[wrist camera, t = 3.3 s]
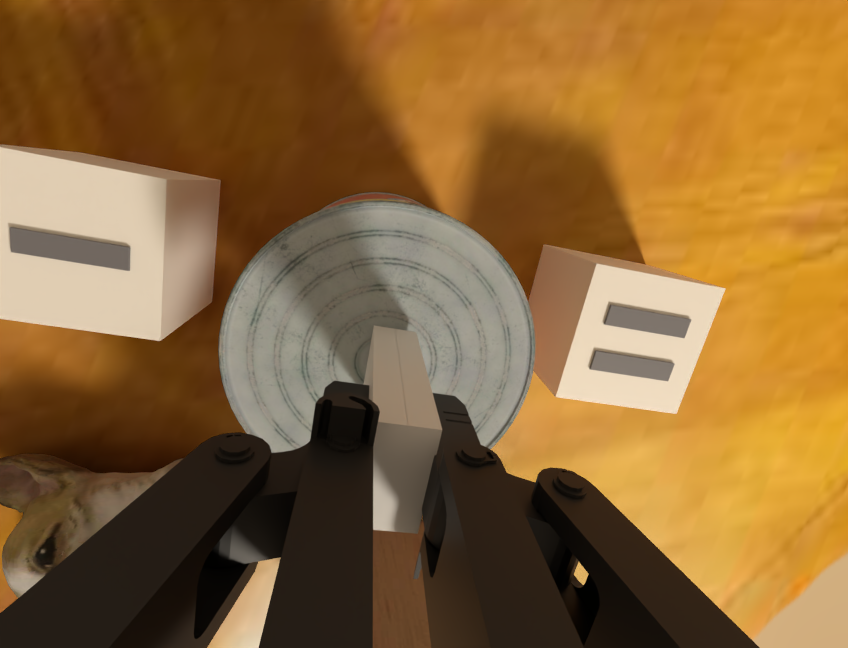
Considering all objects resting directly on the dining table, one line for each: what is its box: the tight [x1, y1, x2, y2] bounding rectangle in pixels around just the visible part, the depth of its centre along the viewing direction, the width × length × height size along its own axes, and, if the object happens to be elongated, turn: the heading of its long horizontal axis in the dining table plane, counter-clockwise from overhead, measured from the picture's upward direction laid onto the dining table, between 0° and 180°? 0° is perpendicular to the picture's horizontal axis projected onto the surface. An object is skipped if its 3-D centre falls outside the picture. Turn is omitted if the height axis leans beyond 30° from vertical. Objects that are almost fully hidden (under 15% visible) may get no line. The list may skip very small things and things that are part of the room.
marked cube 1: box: [528, 244, 725, 414], centre depth 26 cm, size 7×7×7 cm
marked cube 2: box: [0, 144, 221, 341], centre depth 22 cm, size 7×7×7 cm
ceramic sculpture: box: [0, 454, 184, 598], centre depth 26 cm, size 11×9×15 cm
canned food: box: [218, 192, 536, 453], centre depth 22 cm, size 11×11×12 cm
